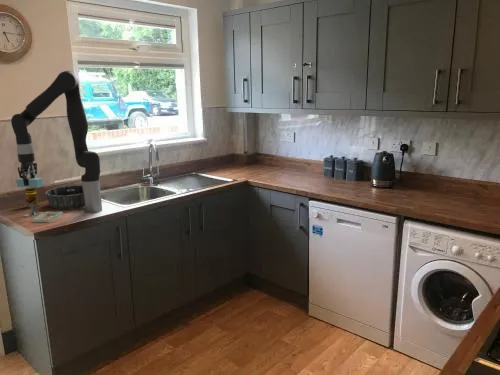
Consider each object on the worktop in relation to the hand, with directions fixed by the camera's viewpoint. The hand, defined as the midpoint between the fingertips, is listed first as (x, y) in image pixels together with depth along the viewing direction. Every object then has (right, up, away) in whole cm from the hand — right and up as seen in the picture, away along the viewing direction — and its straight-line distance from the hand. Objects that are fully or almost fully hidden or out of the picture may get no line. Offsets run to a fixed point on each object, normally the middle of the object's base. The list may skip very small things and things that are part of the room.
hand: (30, 184), depth 219 cm
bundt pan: (+13, -13, +22) cm, 29 cm away
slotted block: (0, -1, 0) cm, 1 cm away
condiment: (-9, -14, +20) cm, 26 cm away
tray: (+12, -19, -4) cm, 22 cm away
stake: (0, -17, +4) cm, 17 cm away
